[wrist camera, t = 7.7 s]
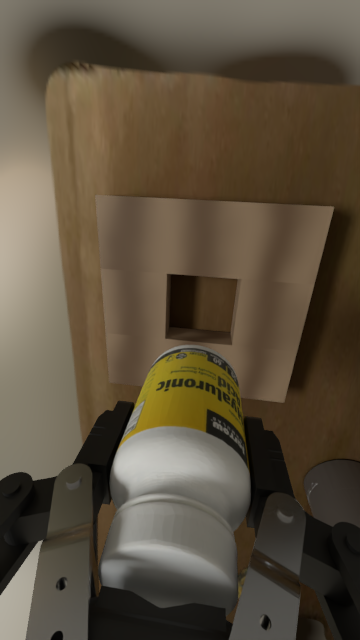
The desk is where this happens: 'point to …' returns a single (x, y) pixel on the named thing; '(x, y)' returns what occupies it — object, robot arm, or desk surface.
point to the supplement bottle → (180, 485)
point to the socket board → (210, 261)
